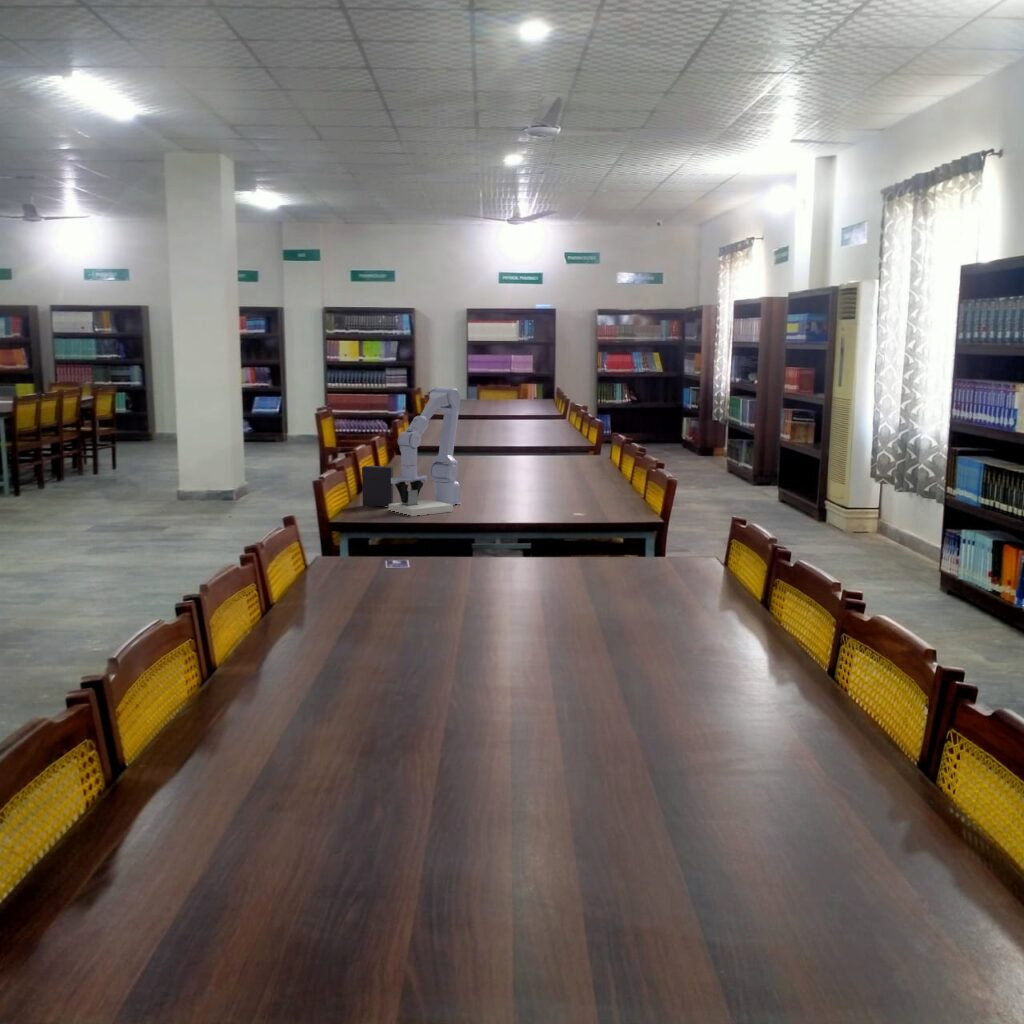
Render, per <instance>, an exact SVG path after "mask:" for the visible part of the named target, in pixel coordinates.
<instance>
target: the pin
mask: <svg viewBox="0 0 1024 1024" xmlns="http://www.w3.org/2000/svg"><path fill="white" fill-rule="evenodd" d="M418 497H419V495H418V490H416V489H412V488H411V487H410V488H408V489H407V501H406V503H402V502H401V503H402V505H406V506H410V505H418V501H419V500H418Z"/></svg>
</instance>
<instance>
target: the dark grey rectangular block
mask: <svg viewBox="0 0 1024 1024" xmlns="http://www.w3.org/2000/svg"><path fill="white" fill-rule="evenodd" d="M391 478H394V468H393V466H390V465H389V466H387V465H386V466H383V465H379V466H378V465H364V466H362V467H361V479H362V484H361V485H362V487H361V488H362V507H363V506H388V507H387V508H389V504H393V503H394V484H391Z"/></svg>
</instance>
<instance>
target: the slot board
mask: <svg viewBox="0 0 1024 1024" xmlns="http://www.w3.org/2000/svg"><path fill="white" fill-rule="evenodd" d="M389 510H391V511H390V512H392V511H395V512H394V513H396V512H399V513H398V514H400V513H403V514H402V515H404V514H407V515H406V516H408V515H411V516H410V517H418V516H417V515H420V516H426V515H427V514H429V515H434V514H436V515H437V514H444V513H445V514H446V513H453V512H454V505H451V504H447V503H442V502H438V501H434V499H433V500H432V499H425V500H424V499H423V500H418V505H410V506H406V505H402V502H393V504H389V507H388V511H389Z"/></svg>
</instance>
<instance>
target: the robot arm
mask: <svg viewBox="0 0 1024 1024" xmlns="http://www.w3.org/2000/svg"><path fill="white" fill-rule="evenodd" d="M428 397H429V400H428V402H427V403H426V405H425V406H424V408H423V410H422V412H421V413H420V415H417V416H415V417H414V418H413V419H412V421H411V422H410V424H409V426H407V428H406V429H405V431H402V432H401V433H400V434H399V435H398V437H397V444H398V446H399V451H400V455H401V457H400V459H401V460H400V461H401V462H400V463H401V464H400V465H401V466H400V467H401V468H400V471H401V472H400V474H401V475H400V476H396V477H393V478H391V484H393V485H395V487H396V489H397V491H398V493H399V497H400V500H401V503H406V501H407V489H409V488H408V487H409V485H408V484H406V483H409V484H410V488H412V489H416V490H418V496H419V494H420V492H421V490H422V489H423V486H424V482H427V481H428V475H425V474H424V475H418V447H419V446H420V445H421V443H422V438H423V435H424V433H425V432H426V431H427V429H428V427H429V424H430V423H429V421H430V419H431V418H432V417H433V416H434V415H435V413H436V412H437V411H438V410H441V411H442V413H443V419H442V426H441V427H442V428H441V434H440V440H439V441H440V442H439V450H438V454H437V455H436V456H434V458H432V462H431V465H430V468H429V475H430V477H431V479H432V481H433V482H434V483H433V484H434V488H433V489H434V492H433V493H434V495H433V496H434V497H433V498H434V499H433V501H438V502H442V503H447V504H451V505H453V506H455V504H457V505H462V502H461V485H460V483H459V482H458V481H457V480H456V479H457V478H458V475H459V469H458V466H459V463H458V460H456V459H455V457H454V449H455V443H456V437H457V428H458V422H459V421H458V419H459V414H460V406H461V405H460V404H461V397H462V396H461V394H460V392H459V390H458V388H457V387H438V386H436V387H433V388H432V390H431V392H430V393H429V396H428Z"/></svg>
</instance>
